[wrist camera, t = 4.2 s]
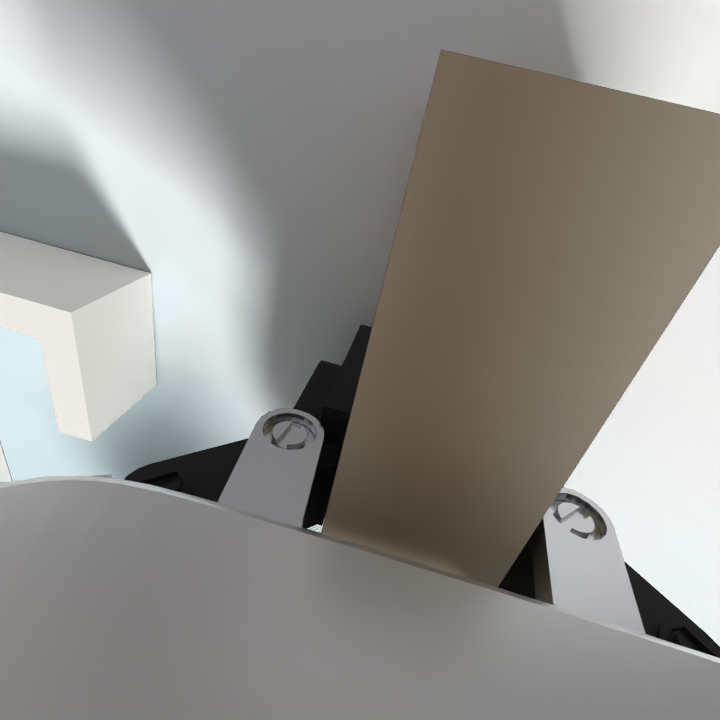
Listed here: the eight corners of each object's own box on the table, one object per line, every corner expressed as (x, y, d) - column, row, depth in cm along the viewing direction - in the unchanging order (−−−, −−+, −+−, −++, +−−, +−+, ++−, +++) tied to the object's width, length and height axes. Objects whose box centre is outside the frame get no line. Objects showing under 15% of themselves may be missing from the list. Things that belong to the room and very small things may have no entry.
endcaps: (150, 273, 12) (71, 312, 10) (168, 607, 21) (129, 673, 19) (-102, 203, 13) (-243, 222, 10) (20, 559, 22) (-37, 617, 19)
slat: (590, 129, 9) (794, 131, 3) (410, 548, 16) (389, 753, 11) (447, 95, 9) (441, 48, 4) (333, 524, 16) (276, 715, 11)
